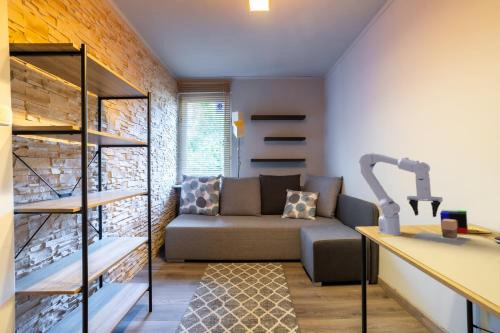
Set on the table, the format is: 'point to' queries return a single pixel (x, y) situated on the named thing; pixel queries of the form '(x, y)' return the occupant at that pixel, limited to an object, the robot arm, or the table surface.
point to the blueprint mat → (440, 238)
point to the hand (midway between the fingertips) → (425, 215)
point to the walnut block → (449, 233)
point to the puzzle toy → (458, 216)
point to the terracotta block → (448, 224)
